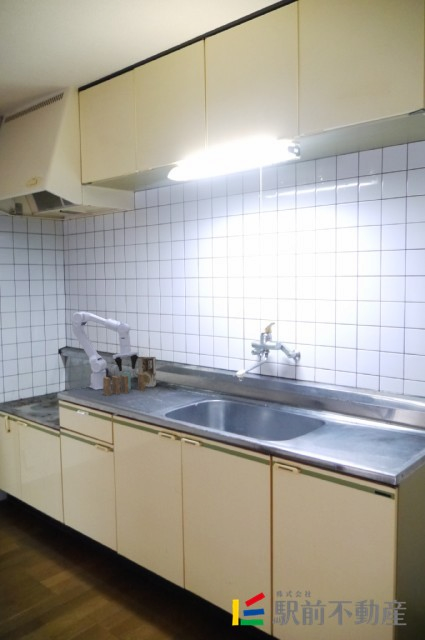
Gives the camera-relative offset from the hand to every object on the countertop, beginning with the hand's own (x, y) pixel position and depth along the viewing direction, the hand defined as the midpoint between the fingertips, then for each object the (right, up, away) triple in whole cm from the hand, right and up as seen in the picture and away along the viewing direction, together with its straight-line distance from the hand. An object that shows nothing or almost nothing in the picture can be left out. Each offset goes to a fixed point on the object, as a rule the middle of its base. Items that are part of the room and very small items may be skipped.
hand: (127, 369), depth 280 cm
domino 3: (0, -11, +1) cm, 11 cm away
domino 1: (-8, -12, -14) cm, 20 cm away
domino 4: (0, -11, -8) cm, 14 cm away
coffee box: (+10, -10, +10) cm, 17 cm away
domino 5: (+8, -11, -2) cm, 14 cm away
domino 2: (-4, -11, -11) cm, 16 cm away
